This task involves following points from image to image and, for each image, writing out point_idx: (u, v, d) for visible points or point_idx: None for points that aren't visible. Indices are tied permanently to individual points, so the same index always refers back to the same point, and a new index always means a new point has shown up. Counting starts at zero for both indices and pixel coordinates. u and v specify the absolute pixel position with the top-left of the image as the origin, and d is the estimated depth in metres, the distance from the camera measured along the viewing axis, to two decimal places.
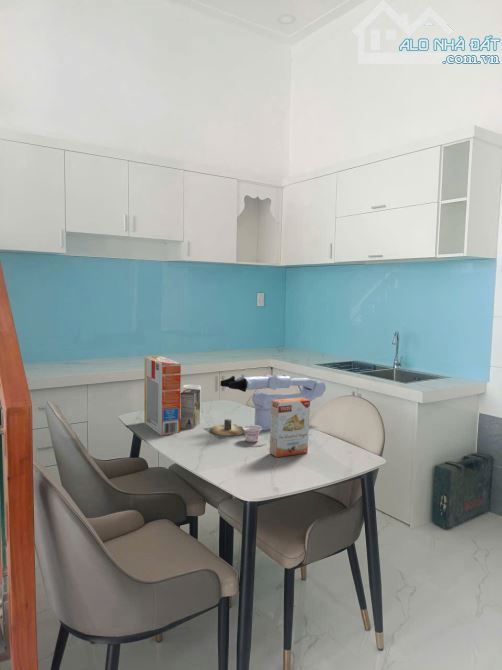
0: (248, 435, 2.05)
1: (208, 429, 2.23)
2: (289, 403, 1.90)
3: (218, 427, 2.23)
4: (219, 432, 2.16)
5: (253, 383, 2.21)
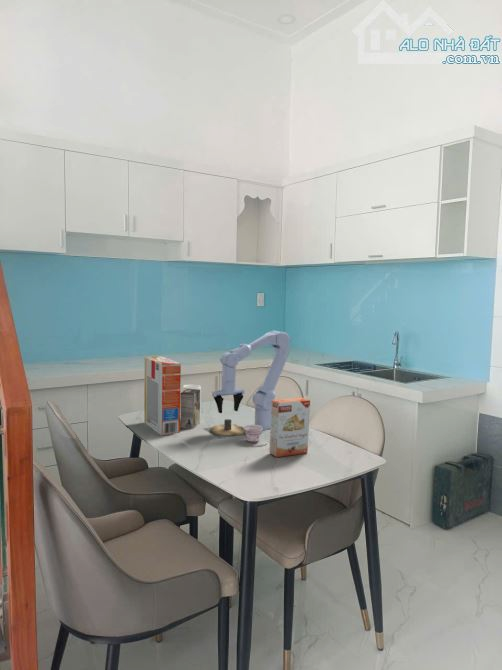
0: (249, 435, 2.05)
1: (208, 429, 2.23)
2: (289, 403, 1.90)
3: (218, 427, 2.23)
4: (219, 432, 2.16)
5: (222, 383, 2.18)
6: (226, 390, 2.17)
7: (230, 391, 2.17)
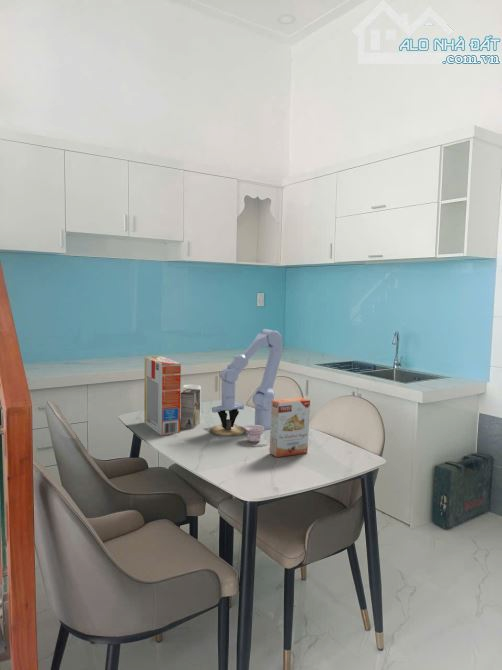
0: (250, 435, 2.05)
1: (208, 429, 2.23)
2: (289, 403, 1.90)
3: (218, 427, 2.23)
4: (219, 432, 2.16)
5: (222, 399, 2.19)
6: (226, 406, 2.17)
7: (230, 407, 2.17)
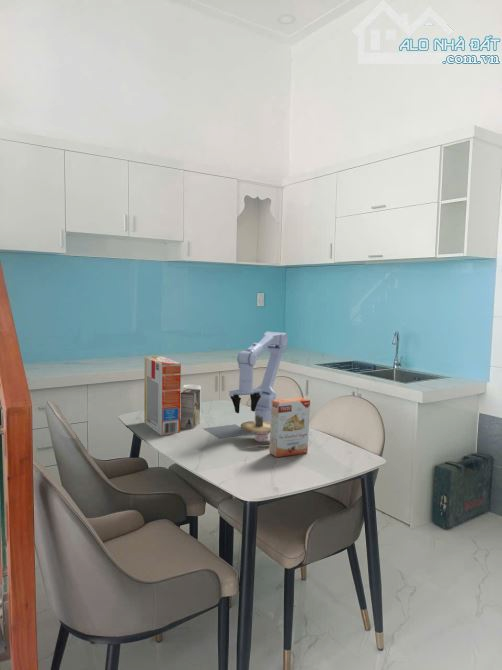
0: (258, 435, 2.06)
1: (208, 429, 2.23)
2: (289, 403, 1.90)
3: (247, 424, 2.09)
4: (255, 429, 2.02)
5: (239, 383, 2.13)
6: (243, 389, 2.11)
7: (248, 390, 2.12)
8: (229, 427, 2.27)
